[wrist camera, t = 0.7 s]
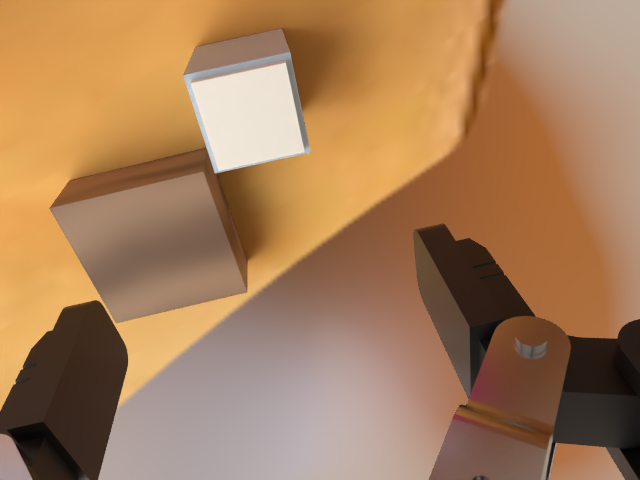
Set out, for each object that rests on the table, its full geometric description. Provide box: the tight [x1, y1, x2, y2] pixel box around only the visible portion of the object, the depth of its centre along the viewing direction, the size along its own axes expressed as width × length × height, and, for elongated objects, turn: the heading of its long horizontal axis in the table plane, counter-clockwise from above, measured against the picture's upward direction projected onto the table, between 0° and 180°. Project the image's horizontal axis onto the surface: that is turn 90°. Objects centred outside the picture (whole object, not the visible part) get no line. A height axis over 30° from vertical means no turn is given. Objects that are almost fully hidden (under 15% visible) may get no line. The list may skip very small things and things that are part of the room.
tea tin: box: [183, 28, 311, 173], centre depth 26 cm, size 5×5×7 cm
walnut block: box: [49, 148, 247, 323], centre depth 32 cm, size 9×9×4 cm
